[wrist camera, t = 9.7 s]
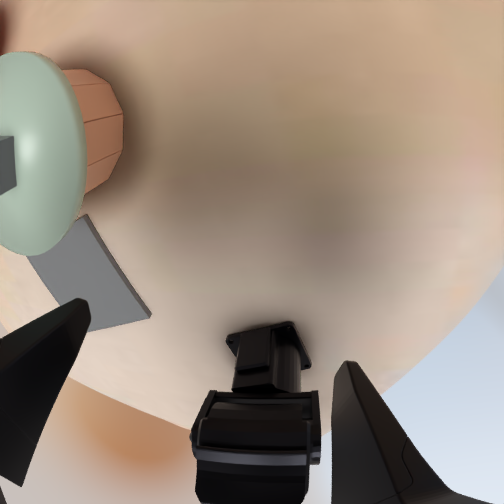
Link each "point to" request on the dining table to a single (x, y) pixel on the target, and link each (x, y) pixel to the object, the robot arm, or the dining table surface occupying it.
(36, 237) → the lid
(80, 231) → the mat
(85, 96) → the bowl
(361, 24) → the dining table surface
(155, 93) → the dining table surface
